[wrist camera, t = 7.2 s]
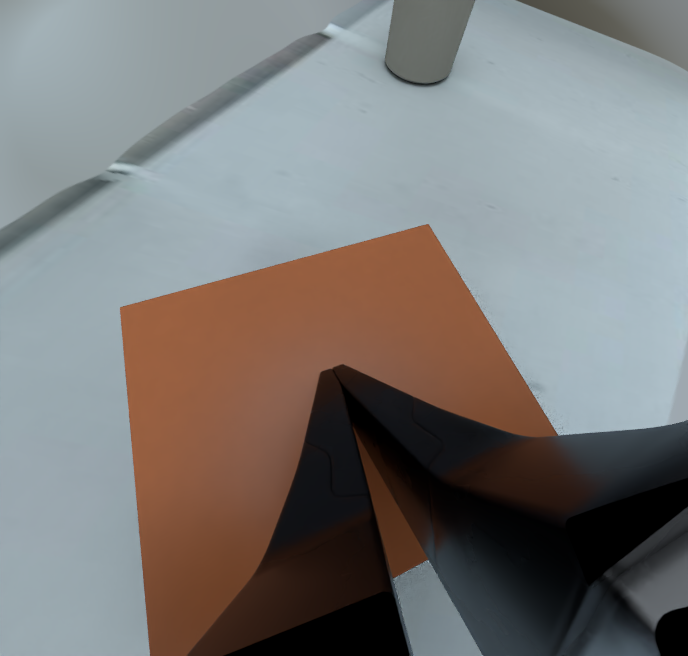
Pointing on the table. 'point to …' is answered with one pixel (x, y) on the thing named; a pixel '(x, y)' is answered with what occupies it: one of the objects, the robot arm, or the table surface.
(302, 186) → the table surface
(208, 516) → the box lid
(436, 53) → the travel mug
